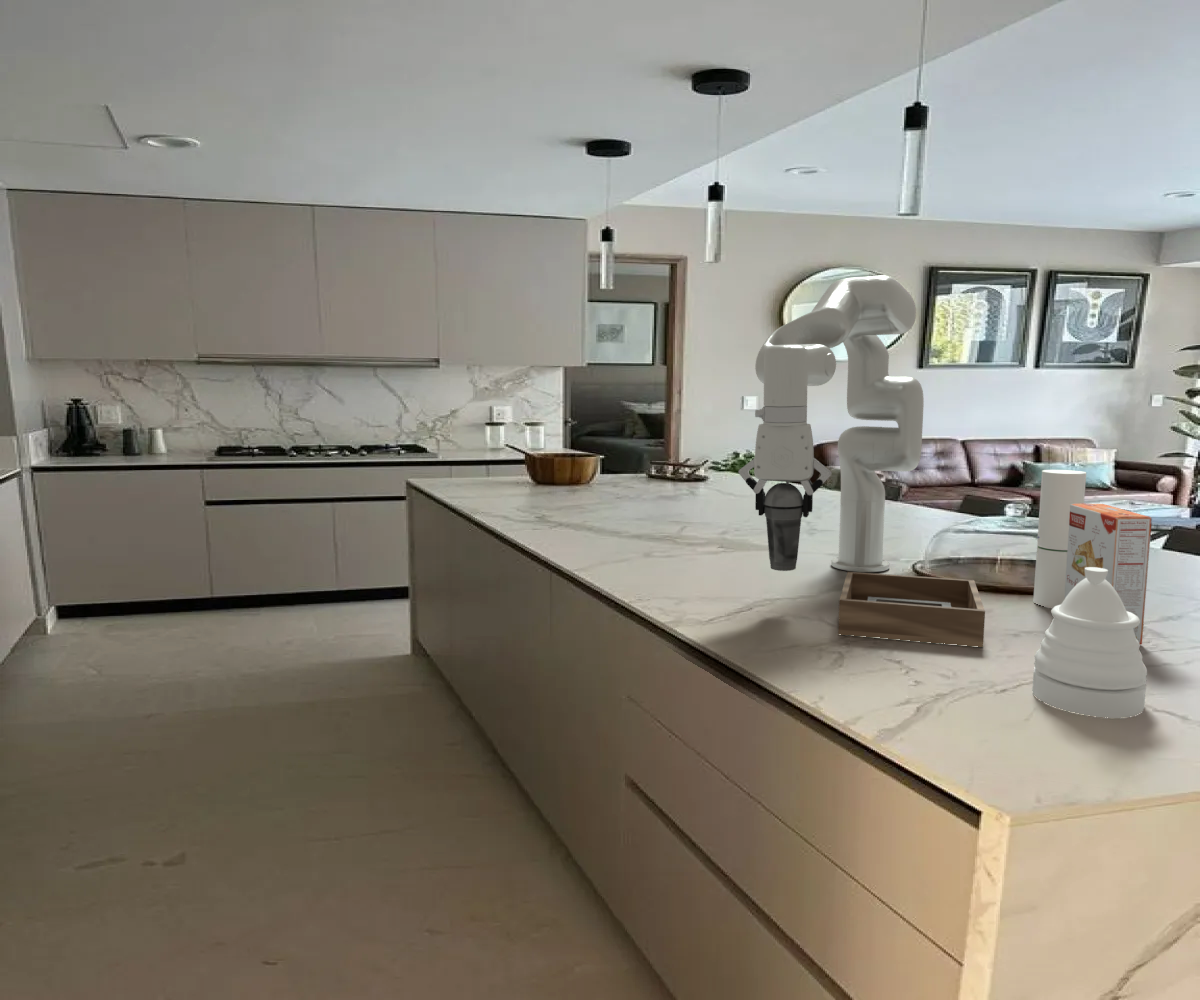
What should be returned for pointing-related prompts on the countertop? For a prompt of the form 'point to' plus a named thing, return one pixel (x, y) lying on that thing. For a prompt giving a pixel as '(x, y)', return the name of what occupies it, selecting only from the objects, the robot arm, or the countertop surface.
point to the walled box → (912, 608)
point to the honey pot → (1091, 653)
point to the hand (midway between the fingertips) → (783, 514)
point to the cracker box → (1111, 552)
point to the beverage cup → (783, 525)
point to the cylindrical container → (1055, 533)
